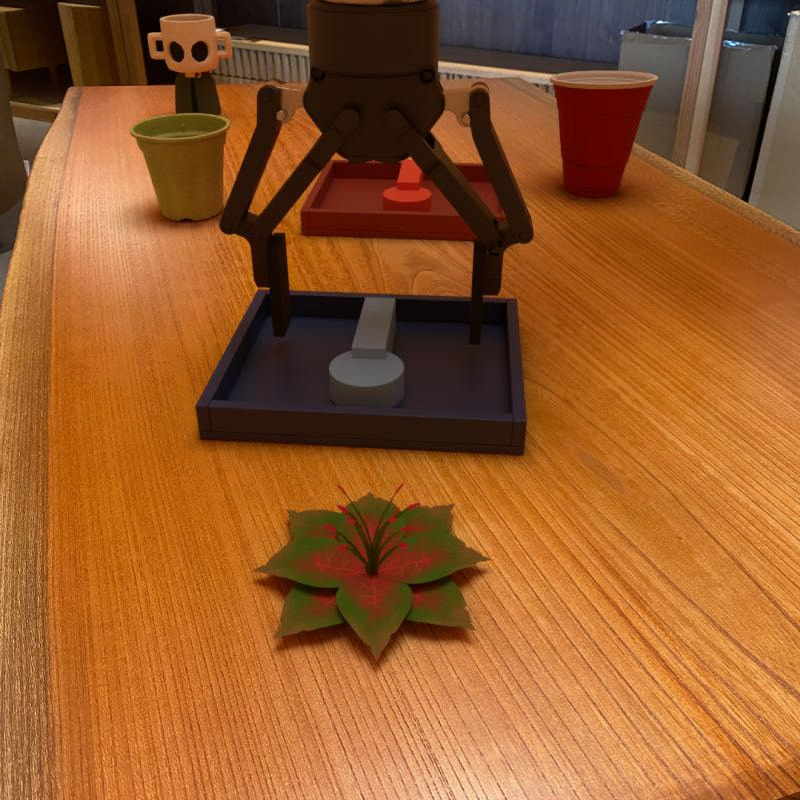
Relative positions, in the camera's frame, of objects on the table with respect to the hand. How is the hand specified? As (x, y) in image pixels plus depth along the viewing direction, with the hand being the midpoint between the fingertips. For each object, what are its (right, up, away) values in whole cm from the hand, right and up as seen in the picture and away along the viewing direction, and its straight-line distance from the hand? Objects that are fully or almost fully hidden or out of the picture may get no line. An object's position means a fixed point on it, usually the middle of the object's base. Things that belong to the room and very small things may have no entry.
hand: (378, 332), depth 58 cm
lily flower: (0, -13, -17) cm, 22 cm away
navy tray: (0, -3, -1) cm, 3 cm away
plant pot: (-20, +14, +27) cm, 36 cm away
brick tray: (+3, +15, +28) cm, 32 cm away
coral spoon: (+3, +15, +27) cm, 32 cm away
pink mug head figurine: (-26, +34, +59) cm, 73 cm away
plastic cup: (+22, +18, +33) cm, 44 cm away
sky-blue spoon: (0, -3, -1) cm, 3 cm away
